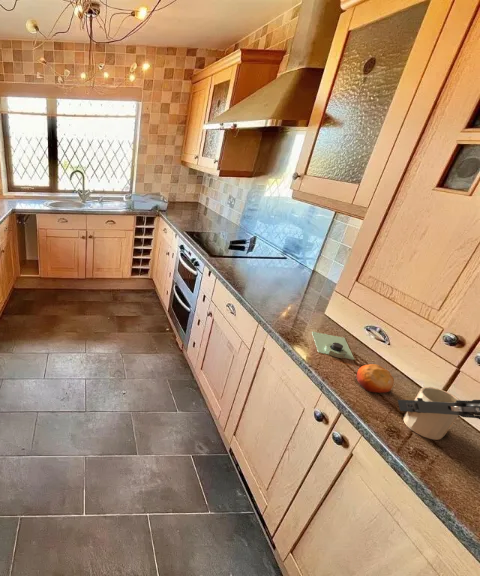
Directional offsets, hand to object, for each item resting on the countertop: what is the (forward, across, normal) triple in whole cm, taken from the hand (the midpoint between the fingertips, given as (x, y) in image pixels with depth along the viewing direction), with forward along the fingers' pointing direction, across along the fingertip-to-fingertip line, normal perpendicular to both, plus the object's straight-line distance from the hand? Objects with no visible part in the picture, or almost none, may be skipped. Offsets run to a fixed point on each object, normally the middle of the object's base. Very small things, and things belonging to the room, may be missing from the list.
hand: (417, 406), depth 79 cm
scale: (+23, -3, +18) cm, 29 cm away
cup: (0, 0, -5) cm, 5 cm away
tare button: (+18, -5, +16) cm, 25 cm away
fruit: (+10, -3, +4) cm, 11 cm away
